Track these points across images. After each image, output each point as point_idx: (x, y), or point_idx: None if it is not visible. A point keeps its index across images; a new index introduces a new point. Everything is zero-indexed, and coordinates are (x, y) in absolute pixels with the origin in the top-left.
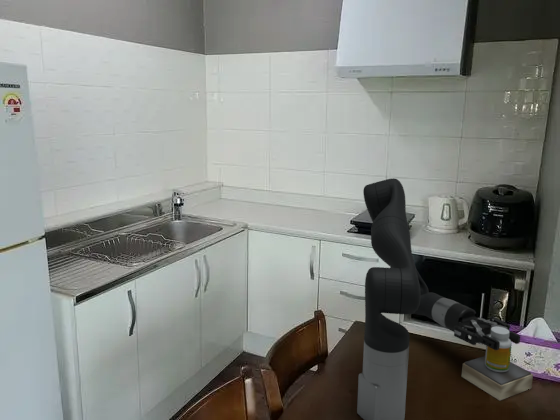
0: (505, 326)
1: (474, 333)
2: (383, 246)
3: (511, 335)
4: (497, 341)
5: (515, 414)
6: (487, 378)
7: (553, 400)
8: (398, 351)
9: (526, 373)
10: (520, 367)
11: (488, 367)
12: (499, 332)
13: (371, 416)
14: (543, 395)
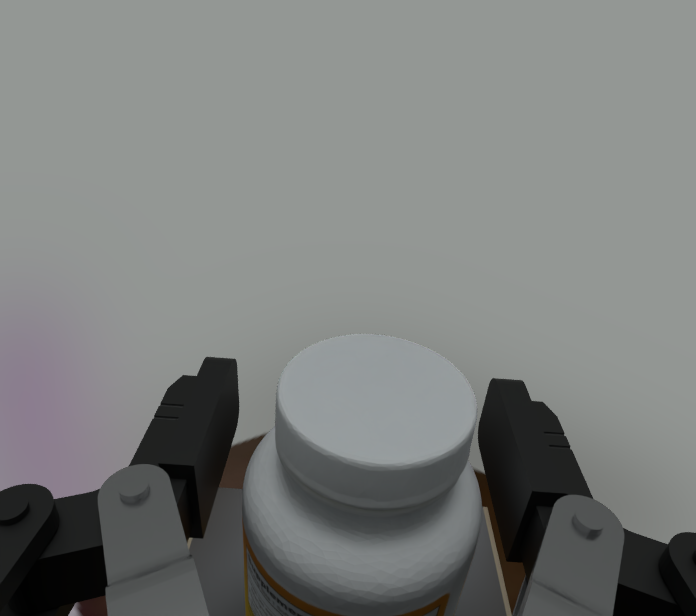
0: (53, 526)
1: (691, 580)
2: None
3: (219, 422)
4: (509, 381)
5: (476, 475)
6: (507, 603)
7: (233, 451)
8: None
9: (241, 494)
10: (193, 551)
11: None
12: (432, 371)
13: None
14: (227, 486)
